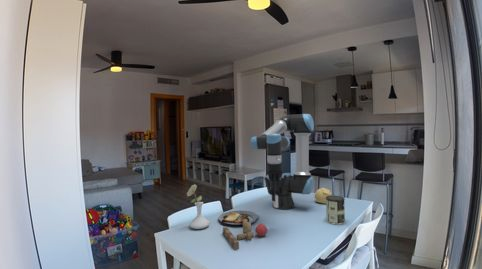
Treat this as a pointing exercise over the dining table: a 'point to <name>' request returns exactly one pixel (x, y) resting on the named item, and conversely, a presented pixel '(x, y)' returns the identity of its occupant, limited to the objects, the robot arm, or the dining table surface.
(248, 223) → the pin
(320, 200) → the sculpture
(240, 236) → the front pin
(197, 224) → the flower in vase
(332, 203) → the coffee can
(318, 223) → the dining table surface
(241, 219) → the food plate
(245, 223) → the pin
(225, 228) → the back wall
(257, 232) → the ball
